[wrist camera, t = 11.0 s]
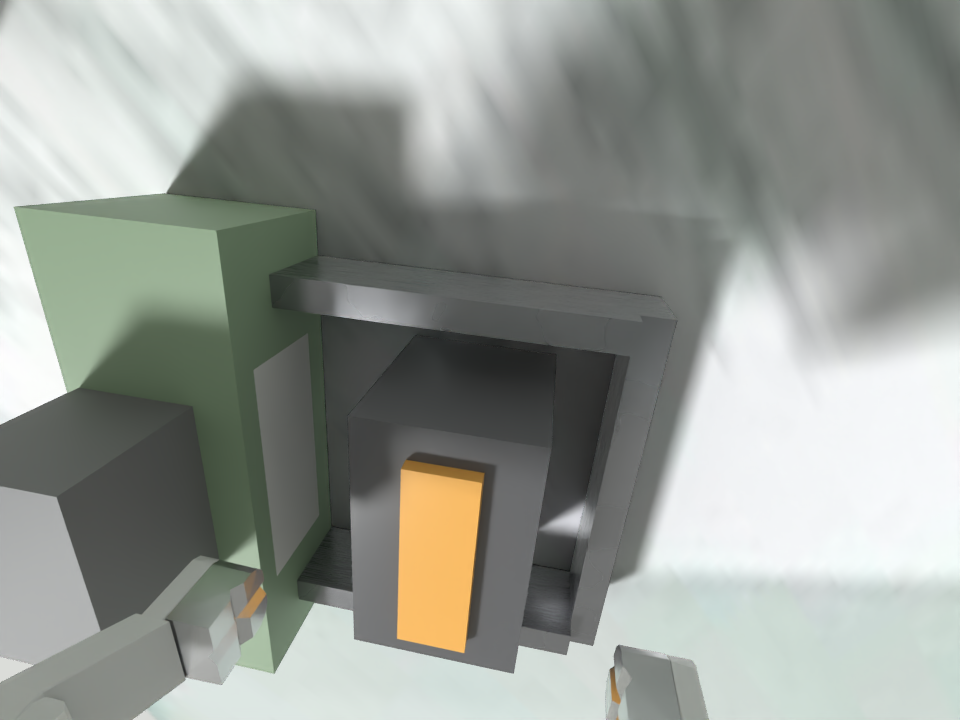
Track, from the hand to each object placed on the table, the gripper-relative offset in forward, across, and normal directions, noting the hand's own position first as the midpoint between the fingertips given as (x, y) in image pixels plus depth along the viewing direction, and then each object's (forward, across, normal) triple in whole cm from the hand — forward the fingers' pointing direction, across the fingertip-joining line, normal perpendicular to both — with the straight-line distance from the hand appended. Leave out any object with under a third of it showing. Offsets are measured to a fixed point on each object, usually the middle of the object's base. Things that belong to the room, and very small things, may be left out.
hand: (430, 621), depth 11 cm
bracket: (+8, +1, +1) cm, 8 cm away
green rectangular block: (+8, +9, +1) cm, 12 cm away
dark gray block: (+8, 0, +1) cm, 8 cm away
